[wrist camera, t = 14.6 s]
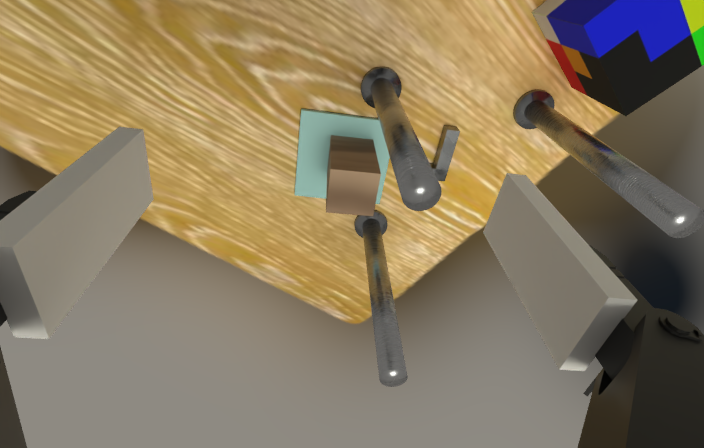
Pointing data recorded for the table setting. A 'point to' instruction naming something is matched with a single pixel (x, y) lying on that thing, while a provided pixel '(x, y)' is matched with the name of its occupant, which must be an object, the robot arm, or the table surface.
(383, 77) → the post
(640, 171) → the post
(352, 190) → the walnut block
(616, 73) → the puzzle toy
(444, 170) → the gray corner bracket
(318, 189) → the pad
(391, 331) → the post
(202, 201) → the table surface
